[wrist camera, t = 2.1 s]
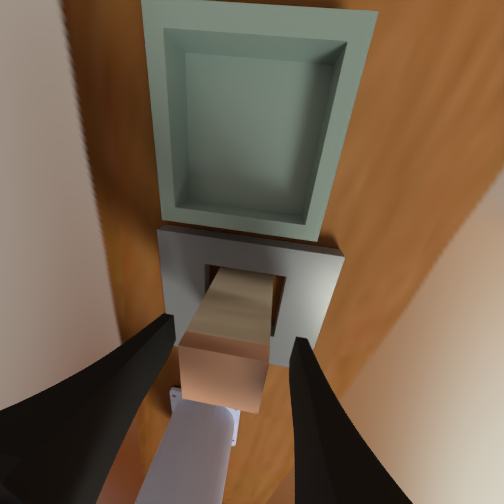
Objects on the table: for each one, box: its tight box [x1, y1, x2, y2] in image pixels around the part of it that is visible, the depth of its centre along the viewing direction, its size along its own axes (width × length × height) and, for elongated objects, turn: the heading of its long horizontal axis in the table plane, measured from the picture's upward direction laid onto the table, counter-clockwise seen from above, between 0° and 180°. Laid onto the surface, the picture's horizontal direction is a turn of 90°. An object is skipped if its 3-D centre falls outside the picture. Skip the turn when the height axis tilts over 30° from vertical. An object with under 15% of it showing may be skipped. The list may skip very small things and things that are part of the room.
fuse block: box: [178, 267, 273, 414], centre depth 13 cm, size 4×4×7 cm
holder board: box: [157, 224, 345, 367], centre depth 15 cm, size 11×12×1 cm
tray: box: [141, 0, 379, 242], centre depth 10 cm, size 9×9×2 cm
